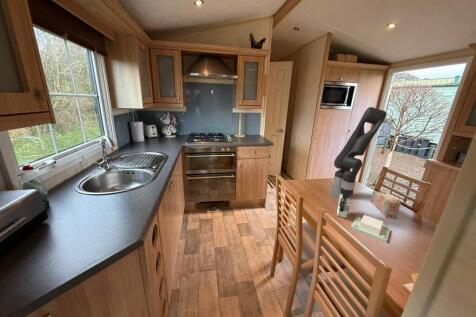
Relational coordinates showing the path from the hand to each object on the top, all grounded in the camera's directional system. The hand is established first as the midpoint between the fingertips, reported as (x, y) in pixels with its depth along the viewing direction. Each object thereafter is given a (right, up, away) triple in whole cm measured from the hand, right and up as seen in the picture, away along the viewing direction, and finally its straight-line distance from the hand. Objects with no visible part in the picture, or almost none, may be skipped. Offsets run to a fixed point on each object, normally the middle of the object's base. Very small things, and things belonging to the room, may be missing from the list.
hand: (343, 208), depth 129 cm
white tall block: (0, -5, +2) cm, 5 cm away
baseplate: (+10, -9, -12) cm, 18 cm away
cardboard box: (+33, -3, +9) cm, 34 cm away
